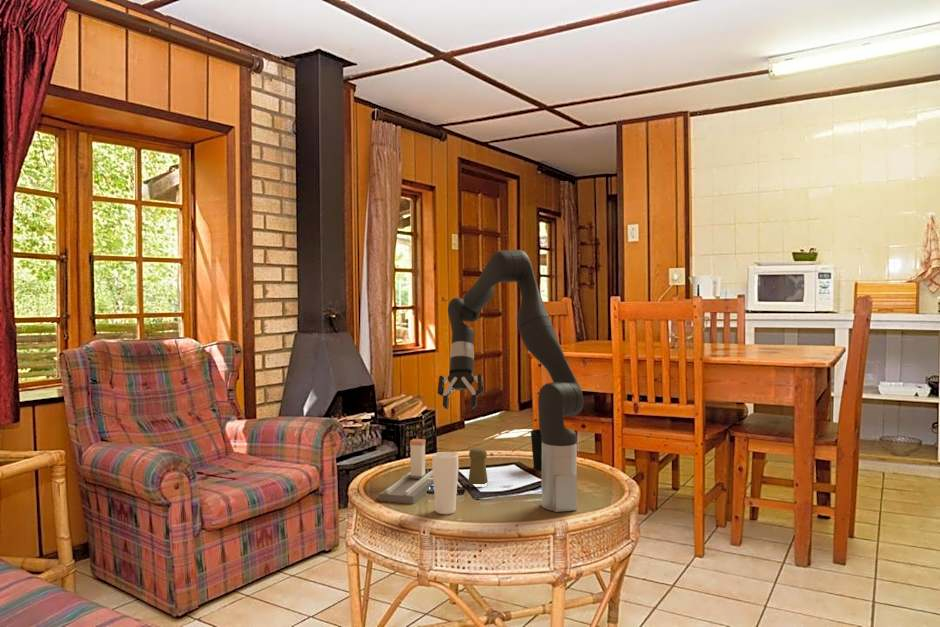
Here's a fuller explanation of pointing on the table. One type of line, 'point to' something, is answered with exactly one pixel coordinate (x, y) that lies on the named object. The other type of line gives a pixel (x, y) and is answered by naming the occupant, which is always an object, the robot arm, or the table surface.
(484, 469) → the cork
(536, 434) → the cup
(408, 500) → the fader board
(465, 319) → the robot arm
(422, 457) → the fader tab
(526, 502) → the table surface
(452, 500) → the drinking glass
